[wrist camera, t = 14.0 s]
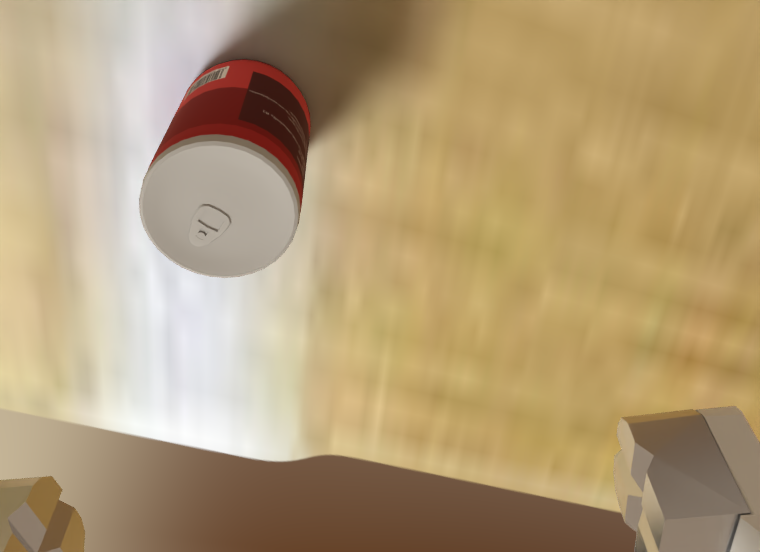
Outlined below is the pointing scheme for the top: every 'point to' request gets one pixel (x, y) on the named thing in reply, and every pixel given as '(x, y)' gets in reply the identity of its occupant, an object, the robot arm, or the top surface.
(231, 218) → the canned food
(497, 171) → the top surface
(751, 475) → the robot arm
